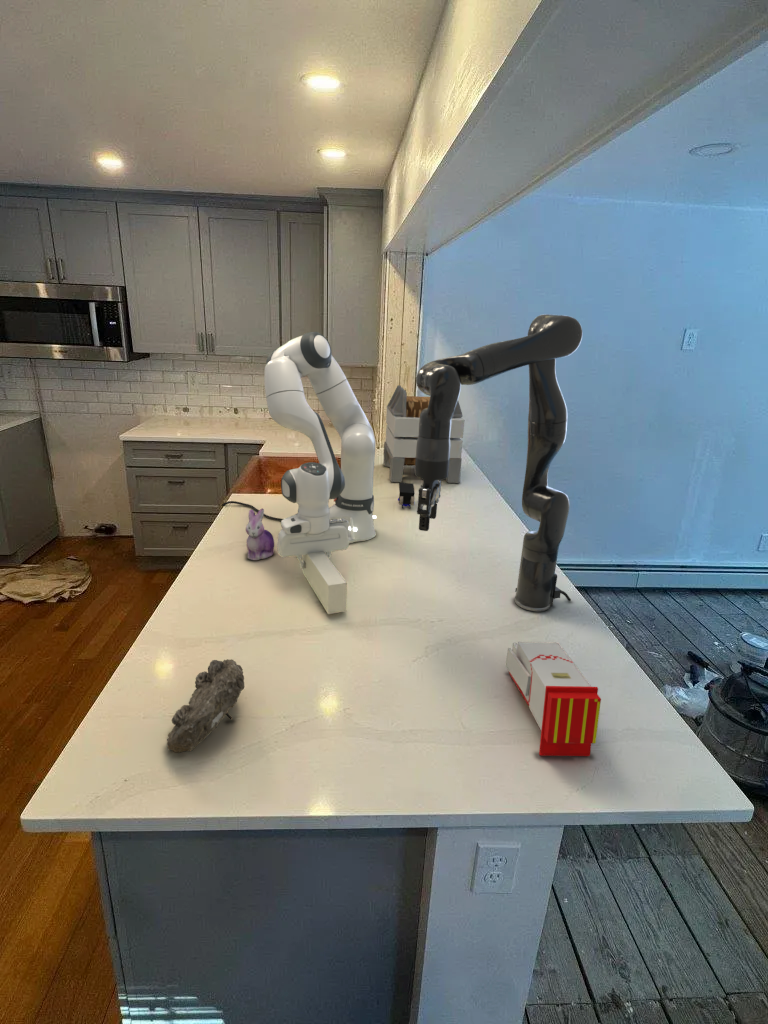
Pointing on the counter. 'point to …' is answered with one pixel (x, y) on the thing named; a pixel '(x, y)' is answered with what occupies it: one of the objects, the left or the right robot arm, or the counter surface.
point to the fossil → (206, 705)
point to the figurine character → (406, 494)
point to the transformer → (415, 435)
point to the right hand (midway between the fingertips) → (427, 523)
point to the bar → (326, 582)
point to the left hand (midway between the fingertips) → (313, 566)
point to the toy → (556, 697)
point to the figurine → (258, 537)
